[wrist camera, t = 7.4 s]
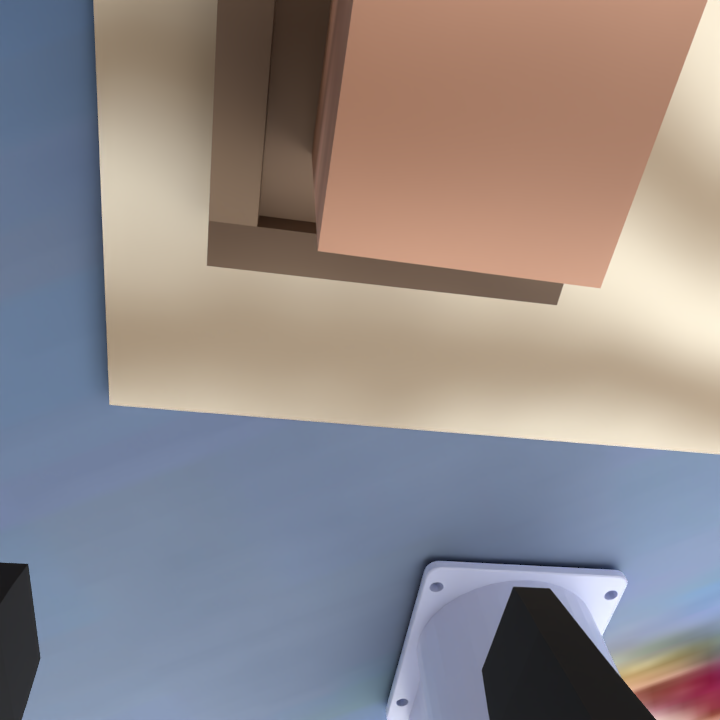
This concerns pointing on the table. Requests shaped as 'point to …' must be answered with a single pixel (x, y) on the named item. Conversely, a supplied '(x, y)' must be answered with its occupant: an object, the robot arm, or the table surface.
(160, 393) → the build mat
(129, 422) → the table surface
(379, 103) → the block
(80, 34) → the table surface
